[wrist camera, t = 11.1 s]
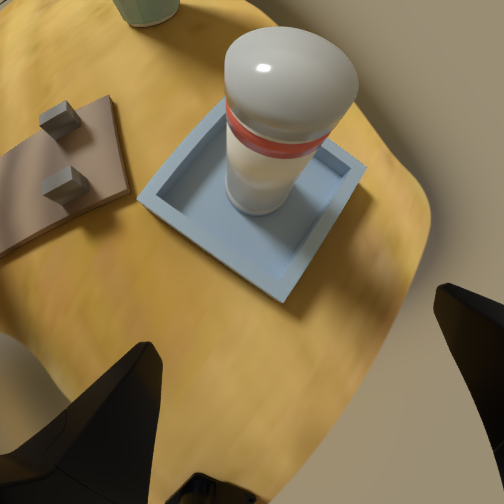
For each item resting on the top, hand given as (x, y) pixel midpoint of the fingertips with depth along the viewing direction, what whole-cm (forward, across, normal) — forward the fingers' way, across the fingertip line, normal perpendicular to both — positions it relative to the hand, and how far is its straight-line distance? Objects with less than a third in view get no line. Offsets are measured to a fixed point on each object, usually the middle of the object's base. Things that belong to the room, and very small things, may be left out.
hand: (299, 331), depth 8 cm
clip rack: (+14, +23, -7) cm, 27 cm away
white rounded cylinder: (+15, +1, -1) cm, 15 cm away
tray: (+15, +1, -1) cm, 15 cm away
